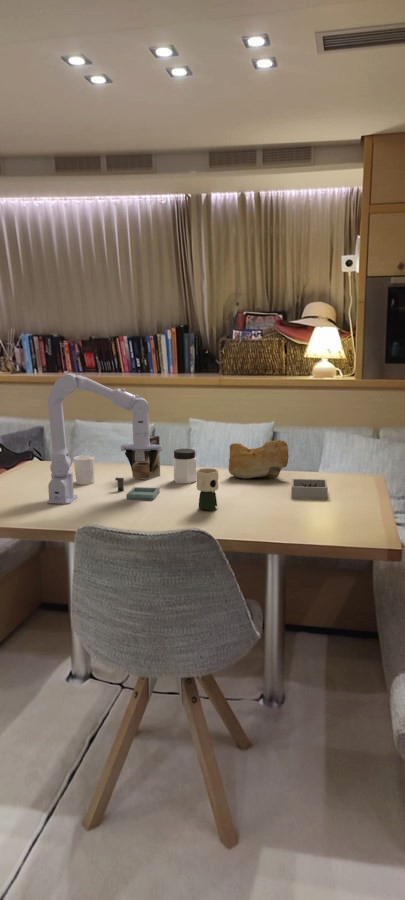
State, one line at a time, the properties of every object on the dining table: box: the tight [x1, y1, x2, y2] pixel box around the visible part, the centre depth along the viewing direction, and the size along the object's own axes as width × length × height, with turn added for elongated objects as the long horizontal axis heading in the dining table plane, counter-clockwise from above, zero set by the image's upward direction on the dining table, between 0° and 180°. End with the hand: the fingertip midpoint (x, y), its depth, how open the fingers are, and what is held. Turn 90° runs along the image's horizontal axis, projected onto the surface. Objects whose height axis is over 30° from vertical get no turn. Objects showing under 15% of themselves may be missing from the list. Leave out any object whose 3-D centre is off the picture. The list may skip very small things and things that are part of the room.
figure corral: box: [290, 478, 329, 500], centre depth 219 cm, size 11×12×4 cm
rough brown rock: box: [228, 439, 290, 479], centre depth 245 cm, size 23×17×15 cm
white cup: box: [73, 454, 95, 486], centre depth 239 cm, size 8×8×10 cm
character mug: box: [196, 467, 219, 511], centre depth 203 cm, size 11×7×13 cm, turn 153°
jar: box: [173, 448, 197, 484], centre depth 239 cm, size 9×8×12 cm
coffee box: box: [135, 435, 161, 481], centre depth 246 cm, size 9×6×16 cm
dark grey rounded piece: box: [114, 477, 125, 493], centre depth 227 cm, size 2×3×5 cm
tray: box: [126, 486, 161, 501], centre depth 220 cm, size 10×10×2 cm
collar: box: [131, 462, 153, 479], centre depth 219 cm, size 6×6×4 cm
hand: (142, 470), depth 219 cm, fingers closed on collar, 6 cm apart
